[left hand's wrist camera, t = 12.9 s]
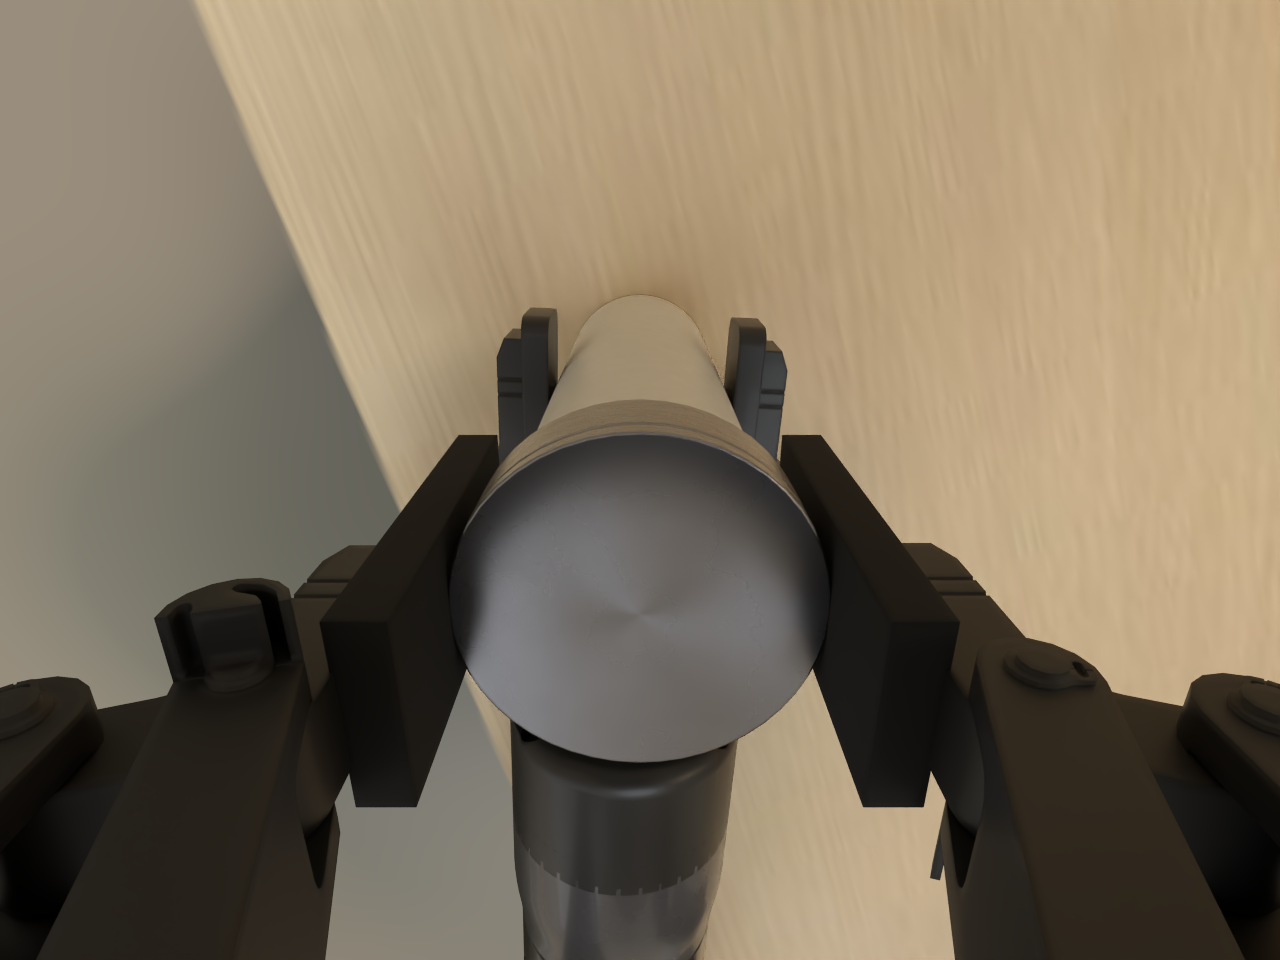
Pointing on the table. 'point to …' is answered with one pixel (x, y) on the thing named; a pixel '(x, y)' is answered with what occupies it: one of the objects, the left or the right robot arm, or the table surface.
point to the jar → (639, 361)
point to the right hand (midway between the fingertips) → (643, 320)
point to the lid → (639, 584)
